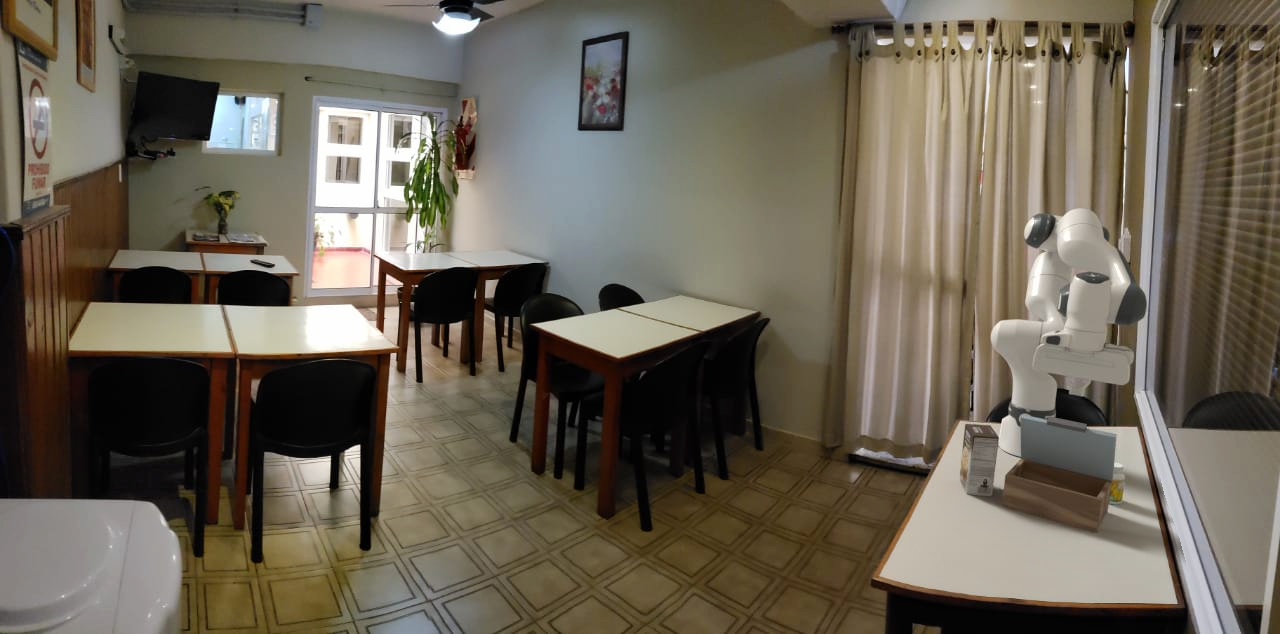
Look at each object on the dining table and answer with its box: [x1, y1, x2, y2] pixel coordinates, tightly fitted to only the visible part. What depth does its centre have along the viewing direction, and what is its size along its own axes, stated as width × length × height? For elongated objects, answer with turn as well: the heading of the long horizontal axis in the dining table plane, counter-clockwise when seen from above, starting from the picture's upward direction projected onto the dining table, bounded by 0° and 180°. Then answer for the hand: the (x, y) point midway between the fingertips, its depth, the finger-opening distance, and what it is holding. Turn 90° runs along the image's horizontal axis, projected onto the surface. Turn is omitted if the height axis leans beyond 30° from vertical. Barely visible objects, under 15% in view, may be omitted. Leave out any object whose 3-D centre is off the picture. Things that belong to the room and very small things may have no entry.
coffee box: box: [959, 423, 999, 497], centre depth 183 cm, size 9×6×16 cm
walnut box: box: [1001, 458, 1112, 534], centre depth 172 cm, size 14×20×8 cm
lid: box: [1020, 415, 1117, 481], centre depth 173 cm, size 15×20×2 cm
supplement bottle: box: [1109, 461, 1126, 505], centre depth 177 cm, size 5×5×10 cm
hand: (1076, 394), depth 174 cm, fingers closed
